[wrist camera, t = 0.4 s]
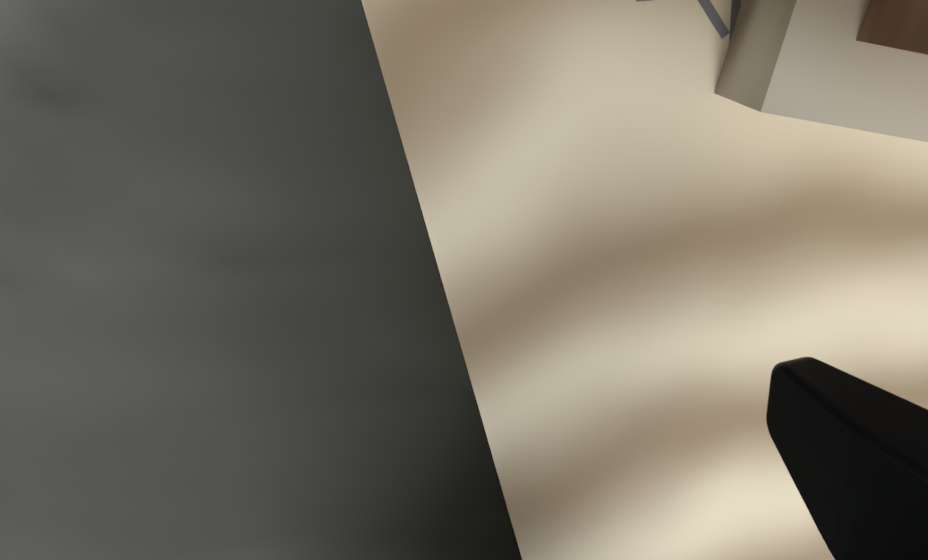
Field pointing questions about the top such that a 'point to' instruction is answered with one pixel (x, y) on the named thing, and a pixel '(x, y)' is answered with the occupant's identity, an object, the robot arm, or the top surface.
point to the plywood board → (646, 264)
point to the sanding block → (833, 63)
